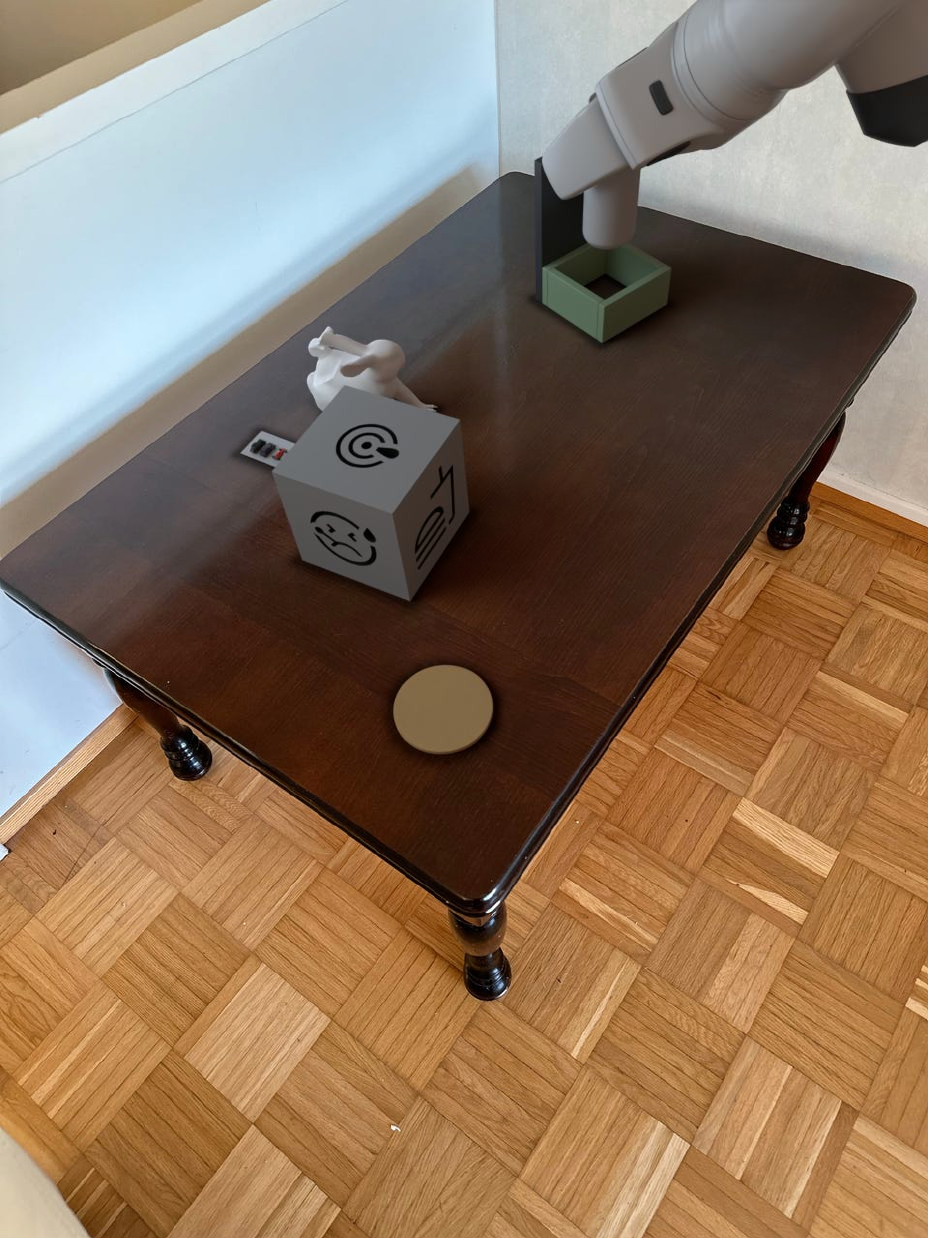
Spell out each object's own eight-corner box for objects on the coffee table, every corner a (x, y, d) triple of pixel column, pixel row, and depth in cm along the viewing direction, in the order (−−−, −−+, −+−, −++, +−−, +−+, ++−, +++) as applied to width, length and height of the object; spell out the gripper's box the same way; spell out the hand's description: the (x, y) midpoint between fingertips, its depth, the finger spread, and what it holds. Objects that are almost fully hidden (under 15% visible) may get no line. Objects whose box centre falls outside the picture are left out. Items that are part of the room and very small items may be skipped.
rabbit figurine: (440, 409, 82) (429, 318, 74) (398, 463, 78) (381, 374, 70) (329, 374, 86) (308, 285, 78) (284, 425, 82) (257, 336, 74)
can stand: (667, 304, 88) (685, 162, 77) (602, 343, 85) (610, 202, 74) (598, 263, 93) (606, 123, 82) (535, 298, 90) (534, 159, 79)
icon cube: (469, 511, 74) (460, 419, 66) (410, 601, 69) (392, 513, 61) (365, 476, 78) (344, 384, 69) (302, 560, 73) (271, 471, 65)
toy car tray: (261, 430, 82) (259, 424, 81) (333, 458, 79) (332, 452, 78) (240, 453, 80) (237, 446, 80) (312, 482, 77) (311, 475, 77)
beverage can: (641, 227, 83) (654, 89, 74) (624, 256, 81) (635, 117, 71) (592, 218, 85) (598, 82, 75) (573, 246, 82) (578, 109, 73)
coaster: (495, 668, 65) (495, 665, 65) (490, 756, 61) (490, 753, 61) (400, 666, 66) (399, 663, 66) (388, 753, 62) (387, 750, 62)
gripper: (788, -13, 68) (676, 85, 80) (586, 83, 61) (499, 172, 74) (822, 70, 69) (707, 153, 82) (627, 172, 63) (536, 244, 75)
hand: (607, 163), depth 78 cm, fingers closed on beverage can, 5 cm apart
